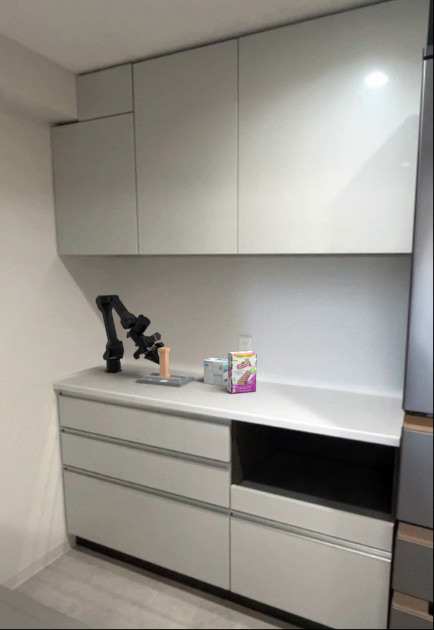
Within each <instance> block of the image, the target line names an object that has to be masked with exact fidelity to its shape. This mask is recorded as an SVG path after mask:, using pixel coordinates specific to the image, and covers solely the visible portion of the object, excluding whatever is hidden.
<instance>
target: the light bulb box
mask: <svg viewBox="0 0 434 630" xmlns="http://www.w3.org/2000/svg"><path fill="white" fill-rule="evenodd" d="M203 383H204V384H209V385H215V386H221V387H225V386H228V358H225V359H224V358H216V357H209V358H206V359H203Z"/></svg>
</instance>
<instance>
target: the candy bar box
mask: <svg viewBox="0 0 434 630" xmlns="http://www.w3.org/2000/svg"><path fill="white" fill-rule="evenodd" d="M257 354H258V353H257V352H255V351H252V350H249V351H230V352H229V351H228V352H227V359H228V384H227V392H229V393H230V394H231V395H232V394H234V395H235V394H241V393H242V394H243V393H254V392H256V391H257V361H258V360H257V357H258V356H257Z"/></svg>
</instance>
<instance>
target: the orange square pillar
mask: <svg viewBox="0 0 434 630" xmlns="http://www.w3.org/2000/svg"><path fill="white" fill-rule="evenodd" d="M170 351H171V347H165V346H164V347H162V348H158V355H159V357H160V365H159V373H160V375H159V376H161V377H170V375H169V374H170V367H169V366H170V365H169V362H170V359H169V357H170V356H169V355H170V353H169V352H170Z"/></svg>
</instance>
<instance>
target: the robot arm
mask: <svg viewBox="0 0 434 630" xmlns="http://www.w3.org/2000/svg"><path fill="white" fill-rule="evenodd" d="M94 302H95V304H96V307H97V310H98V311H99V312H101V314H102V315H101V316H102V320H103V324H104V329H105V335H106V338H107V341H106V345H105V351H104V353H103V354H102V359H103V360H104V361H106V363H105V365H106V366H105V368H106V369H105V370H104V372H105V373H111V374H112V373H113V374H115V373H119V372H121V371H123V369H122V362H121V360H122V359H124V354H125V347H124V344H123V343H124V342H123V341H122V340H120V339H119V338H118V335H117V330H116V325H115V320H114V315H113V309H114V311H115V313H116V314H117V315H118V317H119V319H120V320H119V323H120V325H121V327H122V329H123V330H129V331H126V339H129V338H130V339H131V340H132V341H133V342H134V346H135V347H137V349H136V350H135V352H133V353H132V355H133V358H134V360H136V361H137V360H139V359H140V358H141V357H140V356H141V355H144V356H143V359H144V360H147V361H150V362H153V363H154V364H157V365H158V366H160V356H159V352H158V348H162V347H165V344H164V342H163V341H161V340H162V333H160V332H158V331H156V332H154V333H153V334H151V335H150V336H149V335H145V334H144V333H145V332H146V331H147V329H148V328H149V326H150V325H151V323H152V322H151V319H149V317H147V316H145V315H144V314H138V316H136V315H135V314H134V313H132V312H130V311H129V310H128V309H127V308H126V306H125V304H124V302H122V300H121V299H120V295H118V294H98V295H97V296H96V297H95V301H94Z"/></svg>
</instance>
